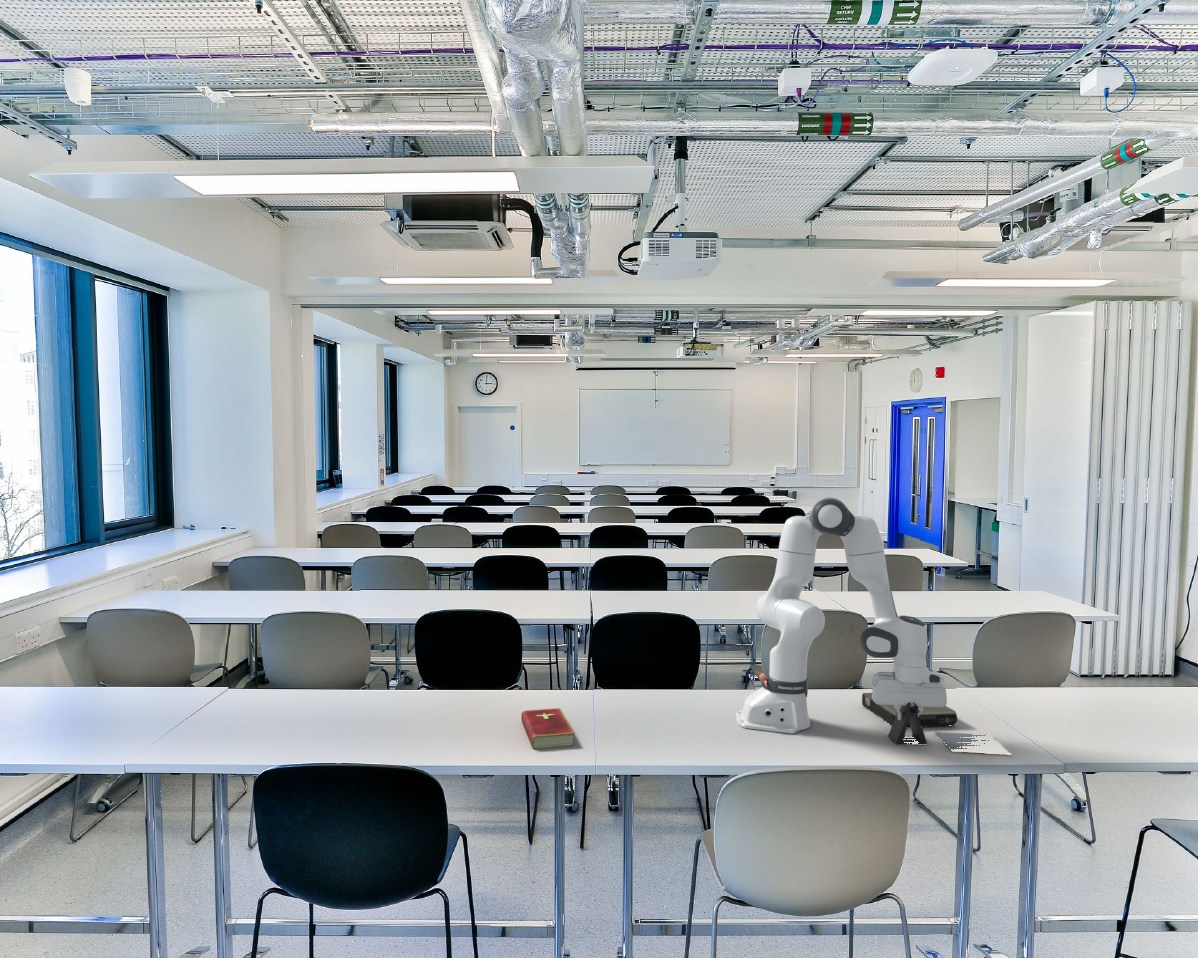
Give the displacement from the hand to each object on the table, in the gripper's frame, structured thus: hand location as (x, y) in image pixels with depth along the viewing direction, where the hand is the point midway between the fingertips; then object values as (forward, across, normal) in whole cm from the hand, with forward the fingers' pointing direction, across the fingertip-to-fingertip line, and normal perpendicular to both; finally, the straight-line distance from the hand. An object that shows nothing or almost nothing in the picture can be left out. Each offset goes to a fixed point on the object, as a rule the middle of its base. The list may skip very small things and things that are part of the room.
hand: (908, 720), depth 216 cm
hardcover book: (+7, -105, -9) cm, 105 cm away
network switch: (+7, +7, +22) cm, 24 cm away
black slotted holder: (+6, 0, 0) cm, 6 cm away
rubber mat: (+6, +18, 0) cm, 19 cm away
